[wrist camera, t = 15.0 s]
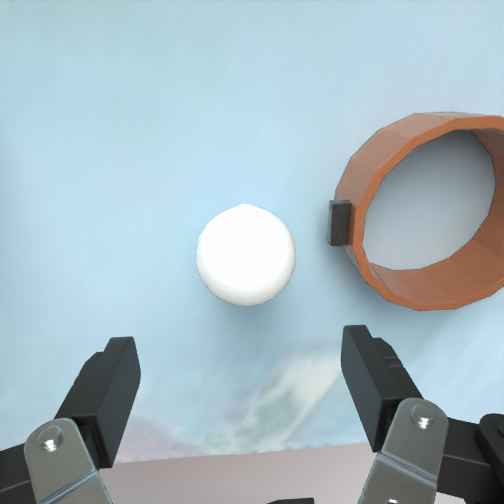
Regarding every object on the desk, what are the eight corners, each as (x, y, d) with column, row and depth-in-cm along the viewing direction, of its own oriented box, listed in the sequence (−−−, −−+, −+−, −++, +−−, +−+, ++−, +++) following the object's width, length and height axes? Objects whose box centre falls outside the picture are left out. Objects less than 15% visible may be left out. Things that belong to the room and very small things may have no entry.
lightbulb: (214, 253, 30) (201, 332, 20) (201, 184, 28) (178, 234, 18) (284, 244, 30) (306, 319, 20) (277, 173, 28) (298, 219, 18)
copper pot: (315, 280, 32) (329, 315, 27) (322, 117, 26) (341, 123, 21) (495, 271, 32) (543, 305, 27) (541, 107, 26) (613, 110, 21)
